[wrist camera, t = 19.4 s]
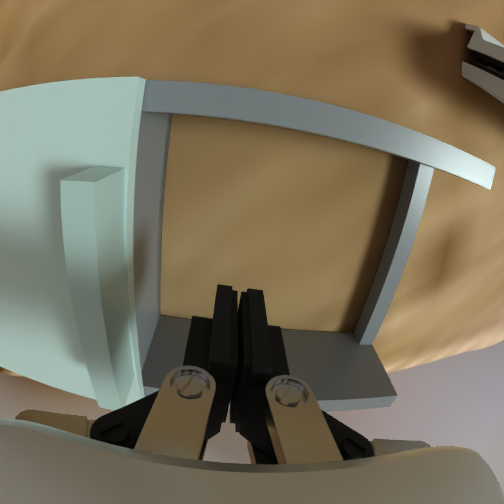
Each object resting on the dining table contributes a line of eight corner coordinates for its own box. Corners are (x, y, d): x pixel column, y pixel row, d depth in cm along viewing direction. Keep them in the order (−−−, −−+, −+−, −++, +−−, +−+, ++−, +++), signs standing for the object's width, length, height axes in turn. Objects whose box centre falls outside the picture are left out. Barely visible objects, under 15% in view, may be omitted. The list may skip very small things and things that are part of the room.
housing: (-22, 109, 14) (-104, 125, 5) (425, 147, 17) (522, 176, 9) (-6, 290, 20) (-59, 347, 12) (361, 344, 24) (399, 427, 15)
